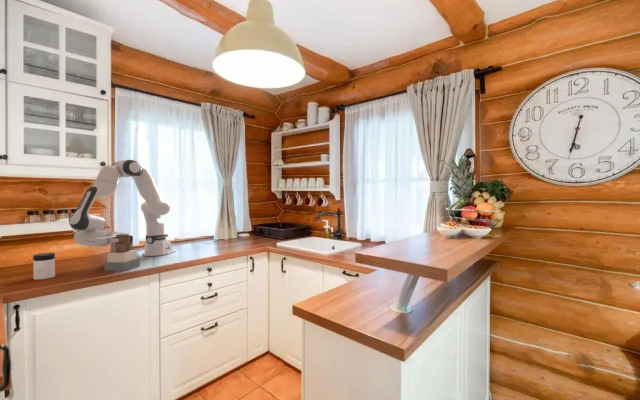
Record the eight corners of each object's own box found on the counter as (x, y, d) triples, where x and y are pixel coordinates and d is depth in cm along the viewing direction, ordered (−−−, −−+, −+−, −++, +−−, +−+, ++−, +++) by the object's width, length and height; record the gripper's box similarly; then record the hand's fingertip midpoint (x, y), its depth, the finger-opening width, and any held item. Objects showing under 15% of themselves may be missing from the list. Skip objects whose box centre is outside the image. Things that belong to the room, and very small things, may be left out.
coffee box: (121, 263, 178) (121, 237, 178) (112, 262, 179) (112, 237, 179) (133, 259, 187) (133, 235, 187) (125, 259, 188) (125, 235, 188)
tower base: (121, 265, 173) (121, 257, 173) (139, 266, 172) (139, 258, 171) (104, 271, 161) (104, 262, 161) (124, 271, 160) (124, 263, 159)
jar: (27, 280, 142) (27, 256, 142) (39, 275, 150) (39, 253, 149) (49, 279, 144) (48, 255, 144) (59, 274, 152) (59, 252, 152)
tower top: (120, 258, 171) (120, 249, 171) (136, 258, 171) (136, 250, 171) (107, 262, 161) (107, 253, 161) (124, 262, 161) (124, 253, 161)
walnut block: (122, 251, 168) (122, 234, 168) (129, 251, 167) (129, 234, 167) (115, 252, 164) (116, 235, 164) (122, 252, 163) (123, 235, 163)
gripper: (86, 235, 156) (108, 236, 155) (116, 231, 177) (137, 231, 175) (86, 247, 157) (108, 248, 155) (116, 241, 177) (137, 241, 175)
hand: (124, 239), depth 165 cm, fingers open, 6 cm apart
